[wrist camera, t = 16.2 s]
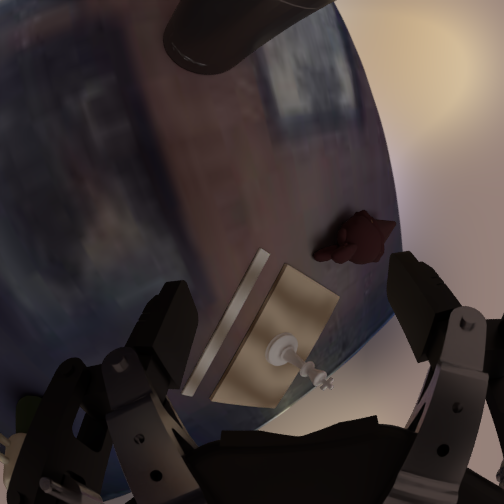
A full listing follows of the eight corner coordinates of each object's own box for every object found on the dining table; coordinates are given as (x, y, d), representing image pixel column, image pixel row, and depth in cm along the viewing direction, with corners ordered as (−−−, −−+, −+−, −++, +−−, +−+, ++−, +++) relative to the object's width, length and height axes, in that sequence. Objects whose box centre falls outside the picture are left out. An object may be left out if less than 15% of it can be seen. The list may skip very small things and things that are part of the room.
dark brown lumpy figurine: (406, 196, 33) (331, 226, 29) (417, 245, 34) (348, 289, 29) (373, 202, 40) (299, 230, 35) (385, 246, 41) (315, 283, 36)
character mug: (87, 424, 23) (102, 509, 12) (58, 443, 21) (66, 522, 10) (20, 368, 19) (0, 457, 8) (-6, 393, 16) (-23, 474, 5)
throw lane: (259, 247, 30) (261, 248, 30) (337, 295, 39) (340, 297, 39) (181, 392, 29) (182, 395, 29) (272, 405, 38) (274, 408, 37)
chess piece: (259, 349, 33) (310, 393, 24) (288, 325, 34) (343, 360, 26) (273, 370, 35) (320, 411, 26) (299, 347, 36) (350, 382, 28)
